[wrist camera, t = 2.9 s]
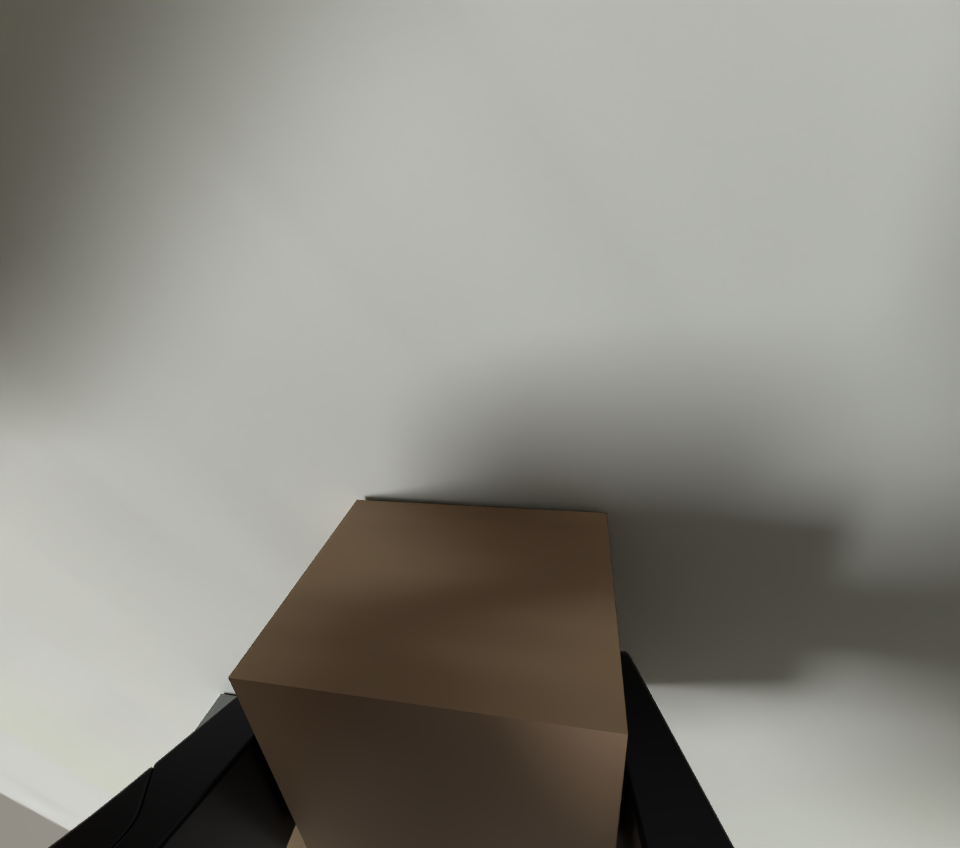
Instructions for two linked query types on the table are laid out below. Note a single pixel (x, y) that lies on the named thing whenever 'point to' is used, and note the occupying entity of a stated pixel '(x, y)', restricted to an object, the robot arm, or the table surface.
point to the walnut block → (446, 682)
